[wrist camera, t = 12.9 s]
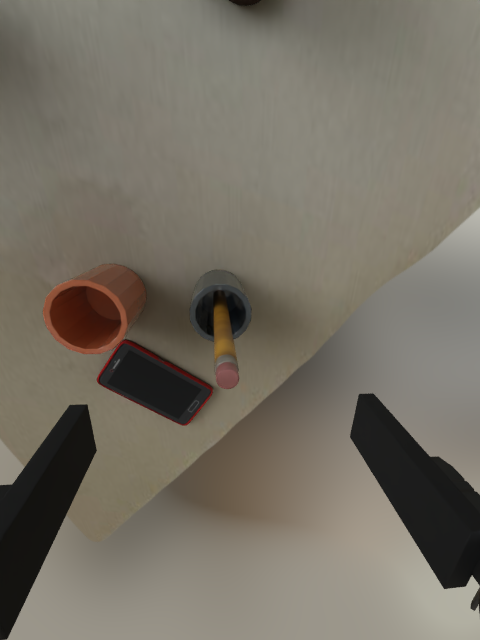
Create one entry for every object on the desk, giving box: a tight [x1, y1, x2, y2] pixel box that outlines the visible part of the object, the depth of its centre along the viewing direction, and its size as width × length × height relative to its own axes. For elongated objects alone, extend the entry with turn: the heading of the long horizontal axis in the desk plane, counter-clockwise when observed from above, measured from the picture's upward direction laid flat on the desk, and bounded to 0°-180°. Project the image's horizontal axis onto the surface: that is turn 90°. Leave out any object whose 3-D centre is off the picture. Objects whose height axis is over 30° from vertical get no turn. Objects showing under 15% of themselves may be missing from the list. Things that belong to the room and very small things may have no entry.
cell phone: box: [97, 340, 213, 426], centre depth 40 cm, size 8×15×1 cm, turn 54°
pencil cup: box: [43, 264, 146, 354], centre depth 31 cm, size 8×8×9 cm
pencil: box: [213, 290, 239, 389], centre depth 27 cm, size 2×2×20 cm
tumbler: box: [190, 270, 252, 342], centre depth 33 cm, size 6×6×8 cm
